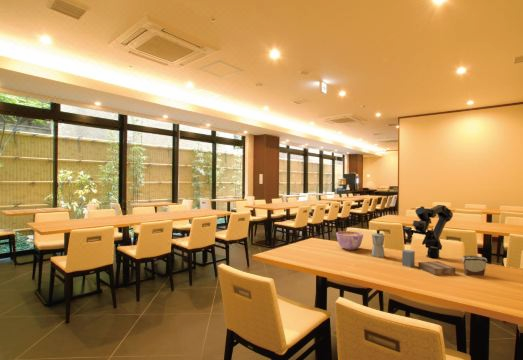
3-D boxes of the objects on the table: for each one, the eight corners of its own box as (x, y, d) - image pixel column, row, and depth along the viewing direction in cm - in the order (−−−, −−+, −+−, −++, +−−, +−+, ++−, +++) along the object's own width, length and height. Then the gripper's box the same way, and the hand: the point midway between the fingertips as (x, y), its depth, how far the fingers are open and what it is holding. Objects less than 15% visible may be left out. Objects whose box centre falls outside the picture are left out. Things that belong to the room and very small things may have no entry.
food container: (479, 272, 165) (480, 255, 165) (487, 276, 159) (487, 258, 159) (457, 271, 166) (457, 254, 166) (463, 275, 160) (463, 257, 160)
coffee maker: (380, 258, 192) (381, 232, 192) (367, 256, 198) (368, 230, 198) (388, 254, 203) (389, 229, 203) (376, 252, 209) (376, 227, 209)
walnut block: (437, 267, 175) (437, 261, 175) (455, 274, 163) (455, 267, 163) (418, 268, 173) (418, 262, 173) (435, 276, 160) (435, 268, 160)
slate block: (406, 263, 181) (406, 249, 181) (414, 265, 177) (414, 251, 177) (402, 265, 179) (402, 250, 178) (410, 267, 174) (410, 252, 174)
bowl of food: (359, 253, 206) (359, 237, 206) (332, 249, 217) (332, 234, 217) (366, 247, 223) (366, 232, 223) (340, 244, 234) (340, 230, 234)
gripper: (405, 214, 193) (396, 232, 187) (435, 217, 178) (426, 237, 171) (411, 225, 197) (402, 243, 191) (440, 229, 182) (432, 249, 176)
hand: (415, 243), depth 182 cm, fingers open, 9 cm apart
